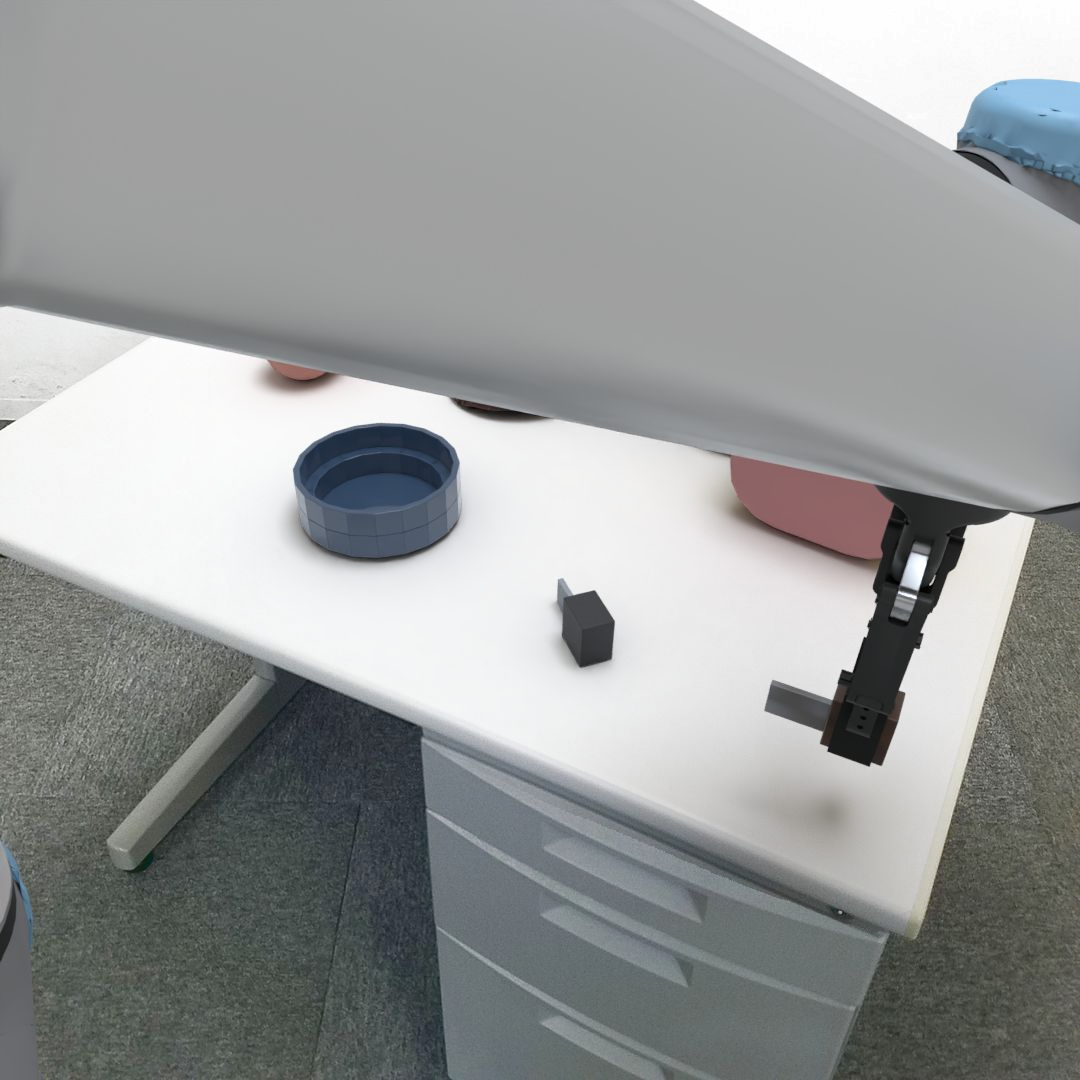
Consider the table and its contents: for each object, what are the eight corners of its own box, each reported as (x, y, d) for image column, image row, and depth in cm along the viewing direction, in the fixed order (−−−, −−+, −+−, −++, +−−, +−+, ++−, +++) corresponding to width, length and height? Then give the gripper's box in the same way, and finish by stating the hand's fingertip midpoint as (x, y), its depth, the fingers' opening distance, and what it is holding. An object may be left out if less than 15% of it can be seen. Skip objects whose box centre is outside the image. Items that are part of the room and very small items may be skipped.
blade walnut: (889, 737, 63) (906, 692, 60) (881, 767, 61) (898, 722, 58) (770, 695, 66) (781, 650, 63) (759, 722, 64) (769, 677, 61)
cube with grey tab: (612, 659, 78) (615, 621, 75) (580, 667, 77) (582, 629, 74) (574, 597, 83) (576, 560, 81) (544, 604, 83) (545, 567, 80)
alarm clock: (939, 525, 93) (1002, 341, 81) (904, 586, 85) (967, 394, 73) (761, 463, 101) (794, 287, 89) (715, 514, 93) (744, 330, 81)
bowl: (378, 585, 84) (372, 535, 81) (268, 518, 92) (258, 470, 88) (493, 507, 94) (492, 460, 90) (384, 452, 101) (380, 406, 98)
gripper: (1029, 528, 41) (892, 853, 55) (1051, 374, 53) (932, 677, 67) (853, 481, 44) (765, 804, 58) (911, 344, 55) (825, 642, 69)
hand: (855, 735), depth 62 cm, fingers closed on blade walnut, 3 cm apart
